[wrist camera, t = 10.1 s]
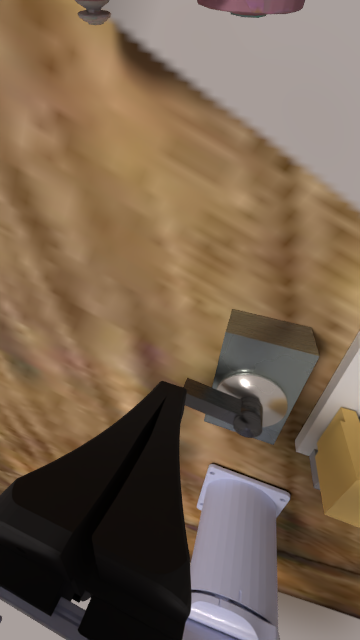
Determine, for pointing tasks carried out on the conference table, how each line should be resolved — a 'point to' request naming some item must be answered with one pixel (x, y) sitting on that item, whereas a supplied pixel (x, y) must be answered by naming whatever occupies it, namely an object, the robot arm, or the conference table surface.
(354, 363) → the rail
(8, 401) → the conference table surface
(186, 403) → the dark lever handle
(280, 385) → the lever base
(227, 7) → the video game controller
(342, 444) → the carriage
